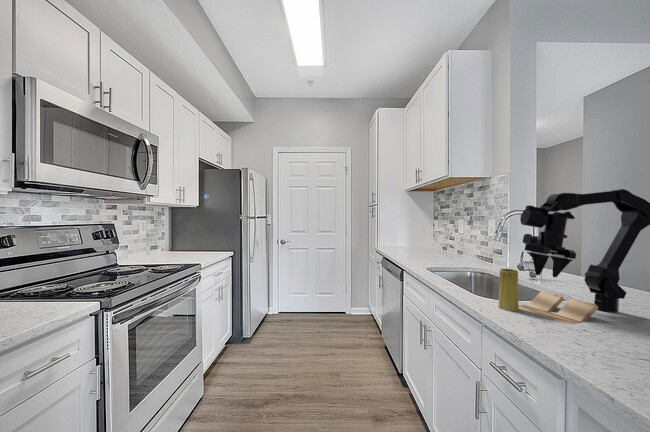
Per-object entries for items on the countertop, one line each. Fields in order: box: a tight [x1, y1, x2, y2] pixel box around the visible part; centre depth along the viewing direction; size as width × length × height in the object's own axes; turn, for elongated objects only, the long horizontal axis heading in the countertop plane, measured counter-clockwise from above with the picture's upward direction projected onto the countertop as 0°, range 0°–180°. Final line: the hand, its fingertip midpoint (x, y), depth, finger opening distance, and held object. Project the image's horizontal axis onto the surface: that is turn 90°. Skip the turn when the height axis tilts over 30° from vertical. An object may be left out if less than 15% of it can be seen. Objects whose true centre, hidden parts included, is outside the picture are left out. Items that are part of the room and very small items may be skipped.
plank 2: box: [556, 298, 598, 323], centre depth 101 cm, size 8×8×1 cm
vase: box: [498, 268, 520, 312], centre depth 110 cm, size 6×6×14 cm
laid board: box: [519, 304, 583, 325], centre depth 105 cm, size 5×20×2 cm, turn 17°
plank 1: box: [526, 291, 565, 313], centre depth 111 cm, size 8×8×1 cm
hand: (546, 276), depth 112 cm, fingers open, 9 cm apart
